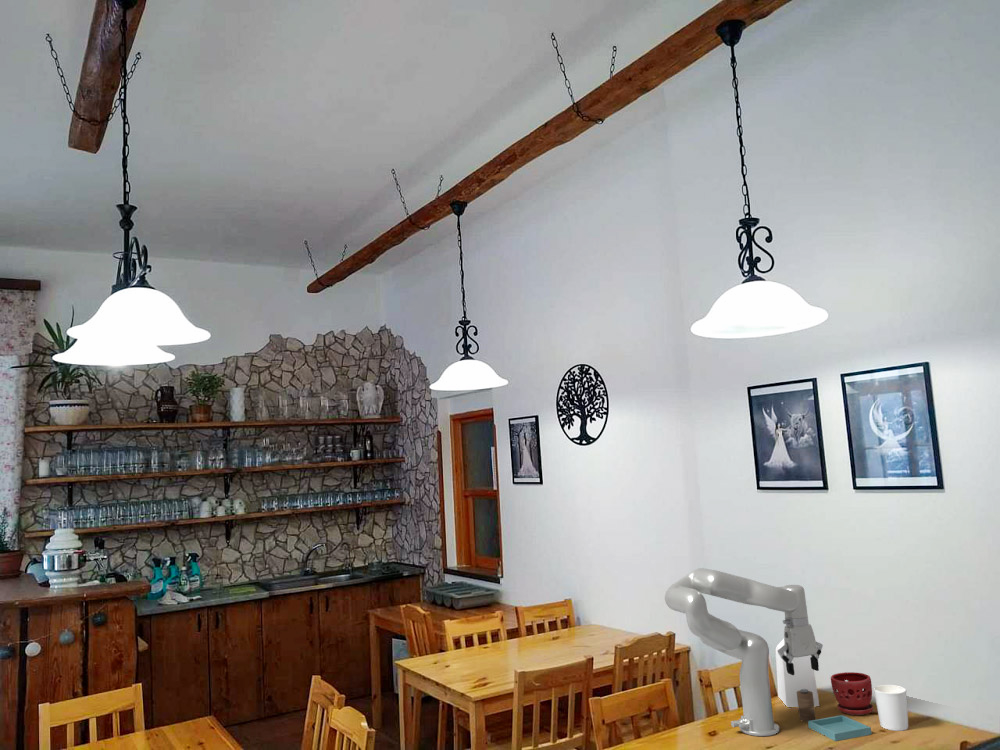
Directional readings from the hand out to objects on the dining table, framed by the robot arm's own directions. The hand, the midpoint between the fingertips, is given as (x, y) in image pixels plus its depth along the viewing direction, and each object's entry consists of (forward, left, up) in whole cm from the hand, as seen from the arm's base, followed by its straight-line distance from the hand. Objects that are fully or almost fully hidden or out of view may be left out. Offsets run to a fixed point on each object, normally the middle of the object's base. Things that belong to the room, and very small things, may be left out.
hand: (803, 672), depth 270 cm
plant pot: (+19, 0, -16) cm, 25 cm away
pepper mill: (0, 0, -16) cm, 16 cm away
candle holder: (+20, -18, -16) cm, 31 cm away
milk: (+8, +17, -16) cm, 25 cm away
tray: (+2, -14, -16) cm, 21 cm away
